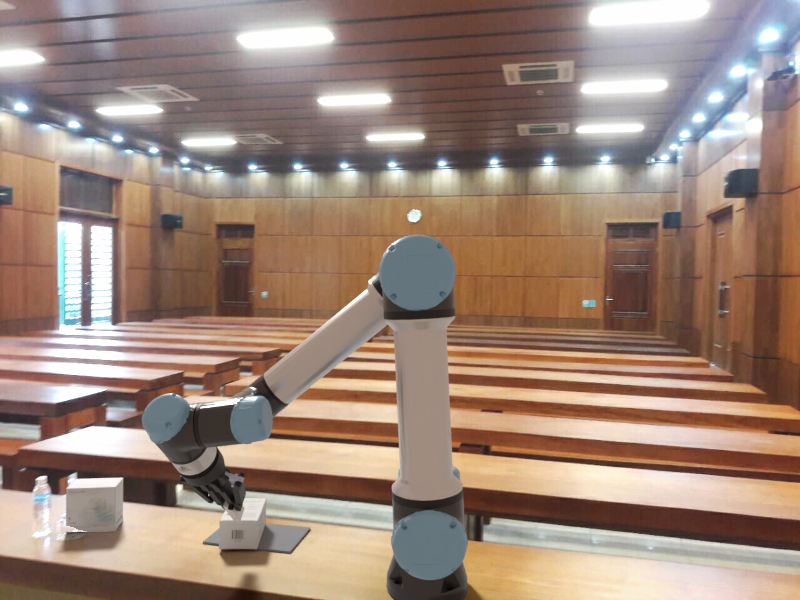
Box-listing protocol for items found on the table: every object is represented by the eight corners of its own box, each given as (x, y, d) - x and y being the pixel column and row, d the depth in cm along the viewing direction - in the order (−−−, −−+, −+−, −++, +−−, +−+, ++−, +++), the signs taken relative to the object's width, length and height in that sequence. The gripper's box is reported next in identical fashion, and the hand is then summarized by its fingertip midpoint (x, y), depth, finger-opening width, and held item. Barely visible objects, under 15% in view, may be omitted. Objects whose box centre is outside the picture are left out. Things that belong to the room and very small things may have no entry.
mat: (310, 529, 134) (310, 527, 134) (290, 553, 122) (290, 551, 122) (230, 520, 138) (230, 519, 138) (202, 543, 126) (202, 541, 126)
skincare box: (64, 534, 129) (65, 487, 129) (76, 522, 136) (76, 478, 135) (115, 532, 131) (115, 485, 131) (123, 520, 137) (124, 476, 137)
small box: (257, 550, 122) (266, 524, 135) (257, 520, 122) (267, 497, 135) (217, 550, 122) (230, 524, 135) (218, 520, 122) (231, 497, 135)
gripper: (154, 474, 103) (203, 529, 119) (223, 480, 100) (263, 535, 117) (172, 436, 108) (216, 494, 124) (237, 441, 105) (274, 499, 122)
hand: (239, 514), depth 121 cm, fingers closed
